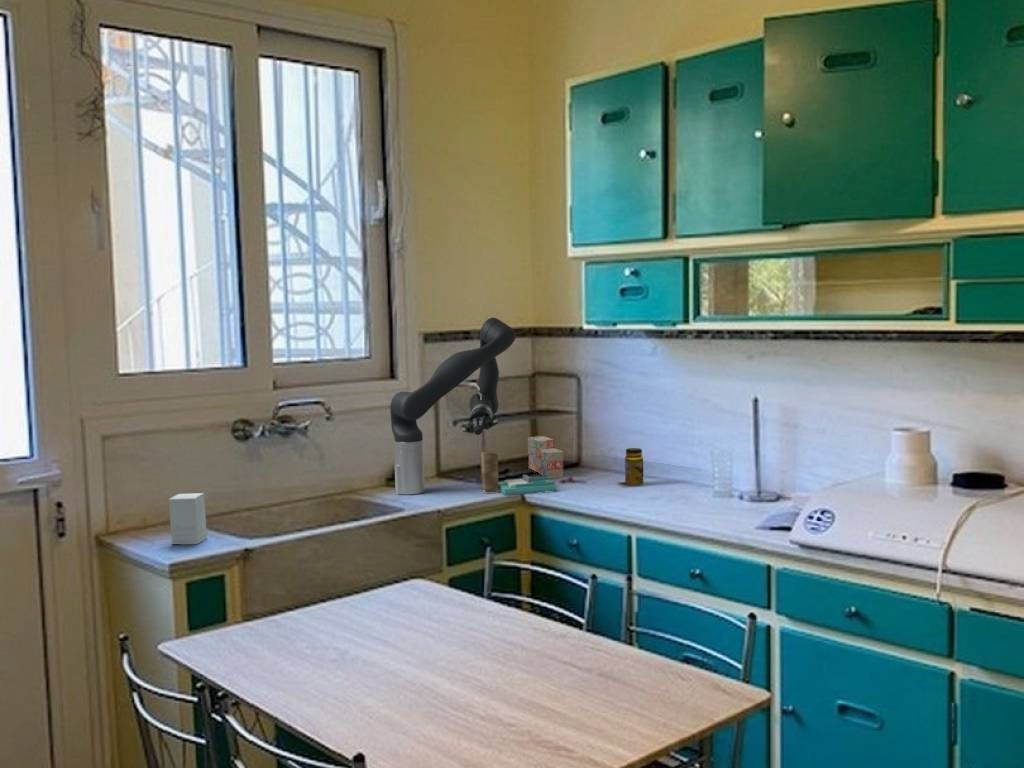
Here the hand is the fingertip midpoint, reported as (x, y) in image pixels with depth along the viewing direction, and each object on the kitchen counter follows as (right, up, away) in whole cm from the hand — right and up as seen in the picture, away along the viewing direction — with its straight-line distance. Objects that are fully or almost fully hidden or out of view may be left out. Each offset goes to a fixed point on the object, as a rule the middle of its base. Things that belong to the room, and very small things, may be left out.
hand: (477, 432), depth 335 cm
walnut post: (+4, -19, -4) cm, 20 cm away
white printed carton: (+23, -16, +27) cm, 39 cm away
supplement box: (-76, -27, -62) cm, 102 cm away
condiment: (+51, -18, +1) cm, 54 cm away
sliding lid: (+13, -17, -4) cm, 22 cm away
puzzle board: (+16, -19, -4) cm, 25 cm away
